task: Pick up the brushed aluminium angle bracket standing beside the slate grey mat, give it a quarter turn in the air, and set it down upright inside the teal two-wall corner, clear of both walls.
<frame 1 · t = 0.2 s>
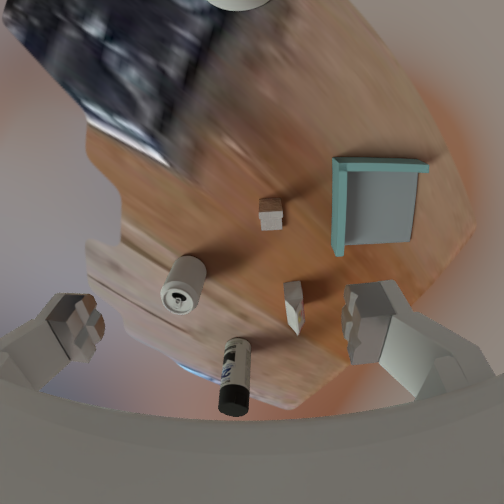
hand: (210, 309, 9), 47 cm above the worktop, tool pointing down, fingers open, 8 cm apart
spray can: (238, 345, 75), on the worktop
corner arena: (375, 201, 56), on the worktop
can: (190, 268, 65), on the worktop
bracket: (270, 210, 58), on the worktop
milk carton: (293, 293, 67), on the worktop
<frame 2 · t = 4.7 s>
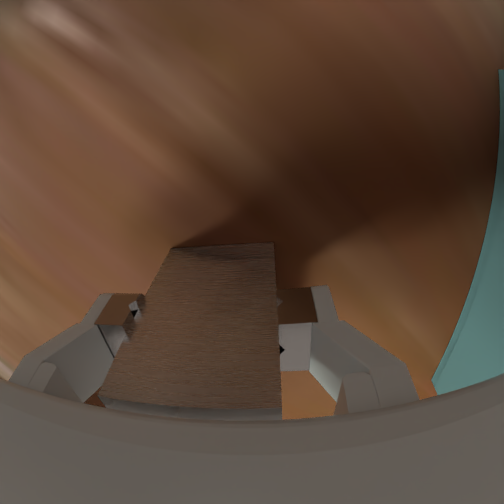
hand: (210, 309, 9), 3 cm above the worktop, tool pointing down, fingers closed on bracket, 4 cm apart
bracket: (228, 298, 13), on the worktop, touching gripper
when the fingers open (5 cm above the worktop, at t = 13.6 s): bracket drops 2 cm, resting on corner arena.
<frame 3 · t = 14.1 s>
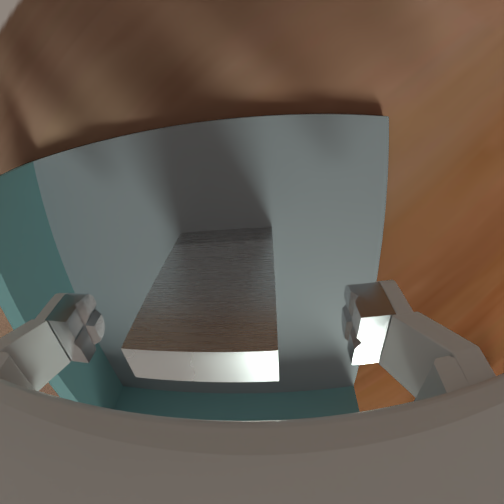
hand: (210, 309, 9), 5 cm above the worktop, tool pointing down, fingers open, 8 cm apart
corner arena: (200, 302, 16), on the worktop
bracket: (231, 278, 14), point 1 cm above the worktop, touching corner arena
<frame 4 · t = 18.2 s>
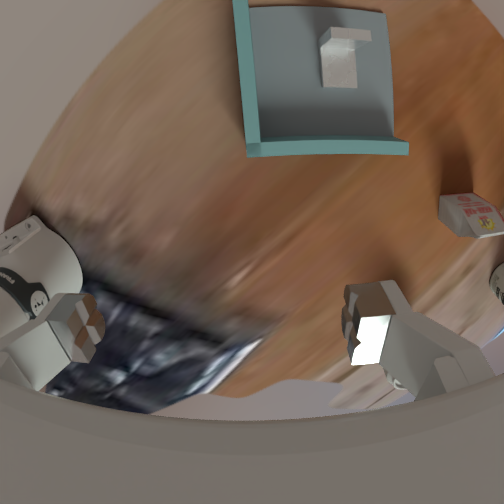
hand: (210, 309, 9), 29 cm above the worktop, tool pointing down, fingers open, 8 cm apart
spray can: (500, 275, 42), on the worktop
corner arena: (320, 74, 30), on the worktop
bracket: (336, 60, 28), point 1 cm above the worktop, touching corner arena
milk carton: (455, 204, 36), on the worktop
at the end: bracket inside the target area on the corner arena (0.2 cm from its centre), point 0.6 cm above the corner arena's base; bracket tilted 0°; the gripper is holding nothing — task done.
